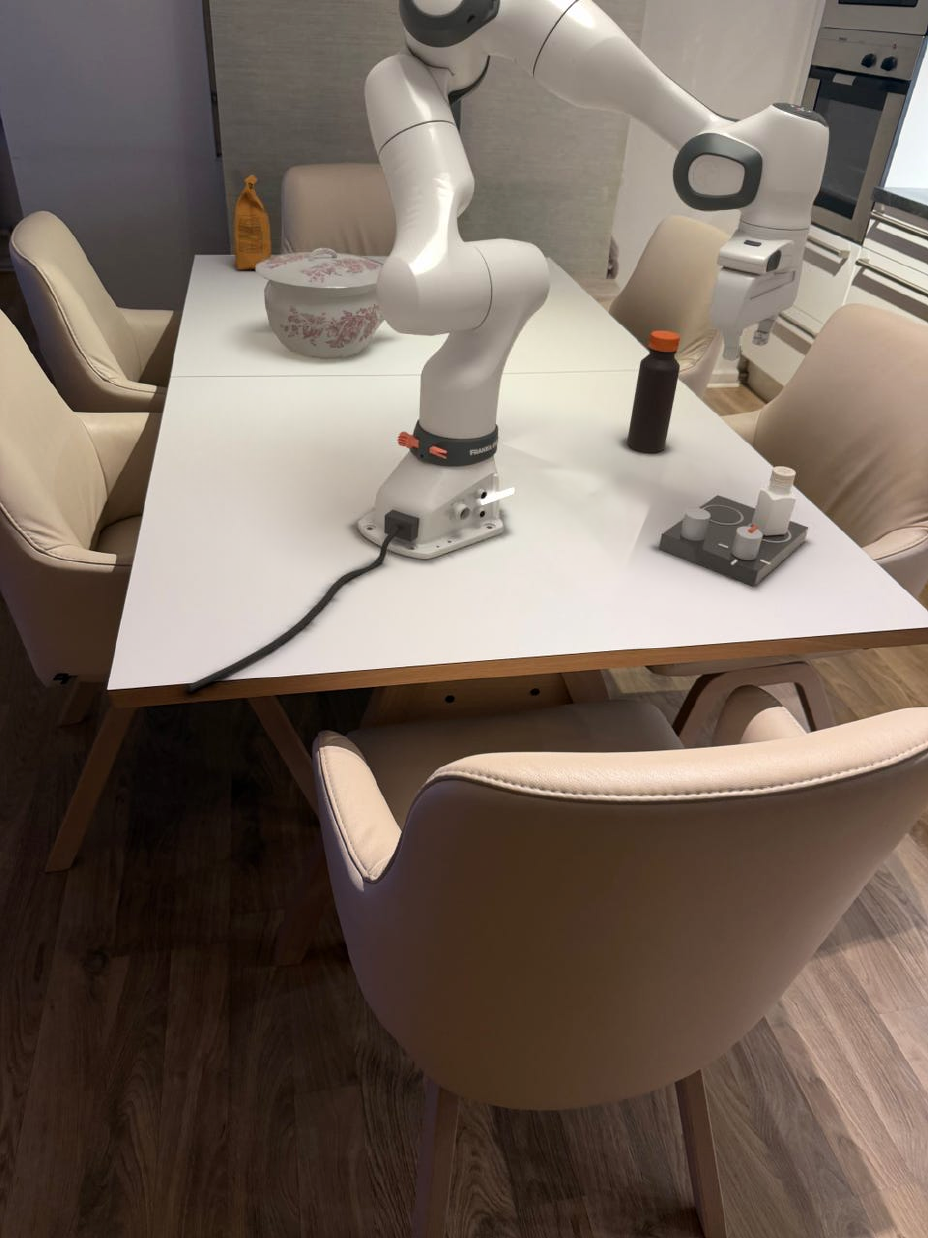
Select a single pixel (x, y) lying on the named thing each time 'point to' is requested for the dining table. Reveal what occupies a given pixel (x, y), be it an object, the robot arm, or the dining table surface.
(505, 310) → the robot arm
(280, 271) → the chamber pot
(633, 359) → the dining table surface
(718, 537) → the hob
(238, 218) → the coffee package
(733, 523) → the hob zones
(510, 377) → the dining table surface
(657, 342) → the bottle
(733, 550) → the hob knob
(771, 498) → the pepper shaker
